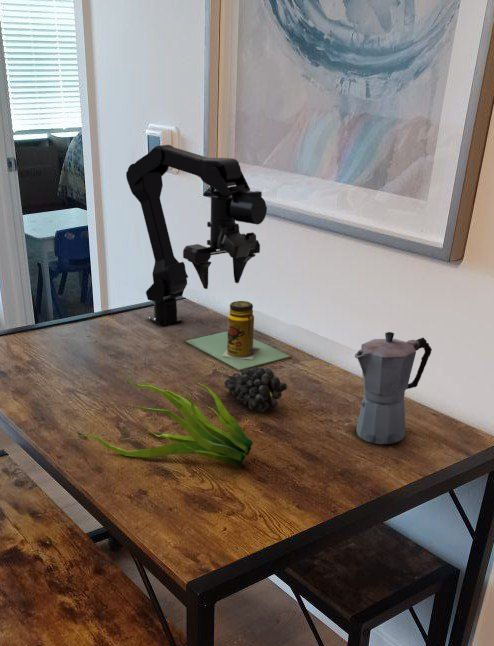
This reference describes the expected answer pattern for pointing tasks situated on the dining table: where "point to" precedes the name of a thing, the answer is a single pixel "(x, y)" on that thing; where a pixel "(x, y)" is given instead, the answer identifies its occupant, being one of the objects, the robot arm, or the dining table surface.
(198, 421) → the decorative plant
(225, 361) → the mat
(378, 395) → the moka pot
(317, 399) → the dining table surface
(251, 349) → the condiment
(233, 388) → the fruit
